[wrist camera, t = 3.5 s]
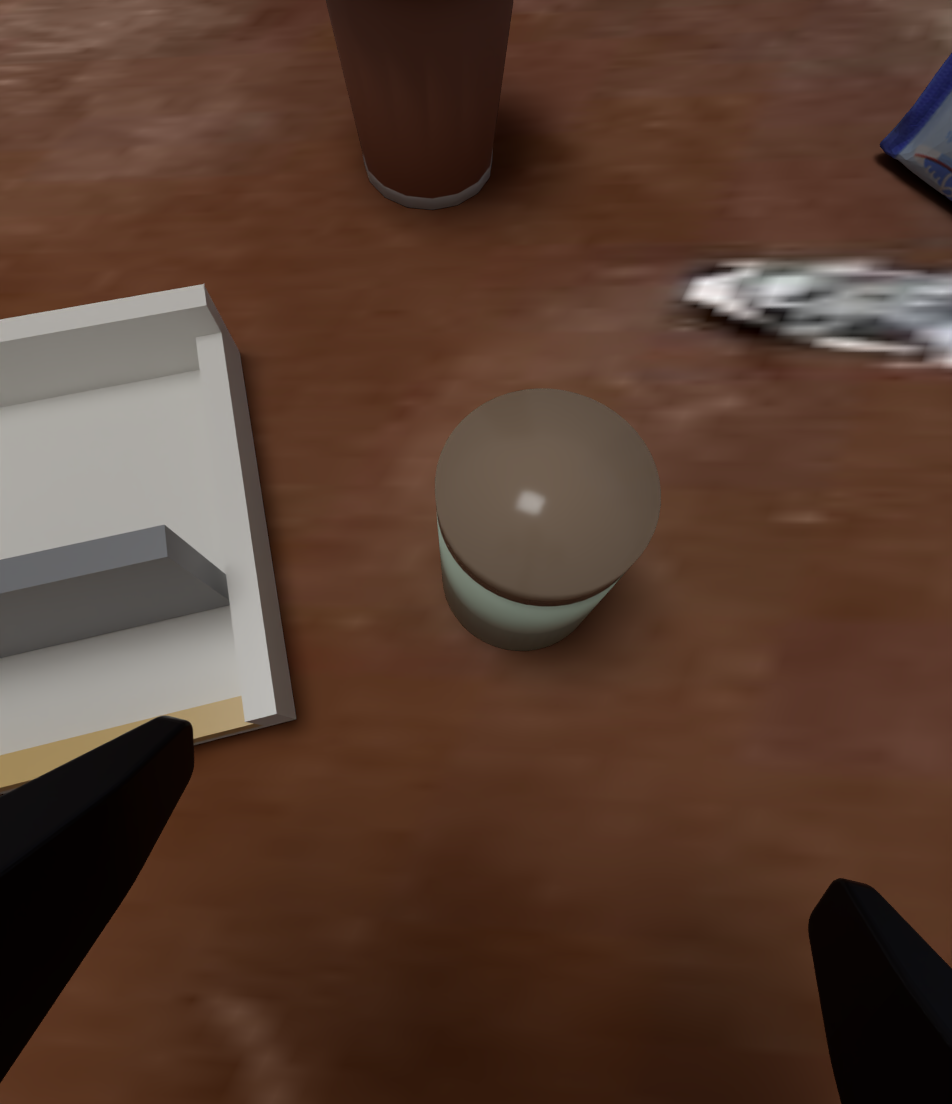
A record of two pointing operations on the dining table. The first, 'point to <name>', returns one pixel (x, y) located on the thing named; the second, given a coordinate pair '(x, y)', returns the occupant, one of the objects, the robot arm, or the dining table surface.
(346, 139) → the dining table surface
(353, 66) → the coffee cup
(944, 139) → the lunch bag
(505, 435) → the sage jar
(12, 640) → the plate
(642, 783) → the dining table surface
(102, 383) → the white divided tray
